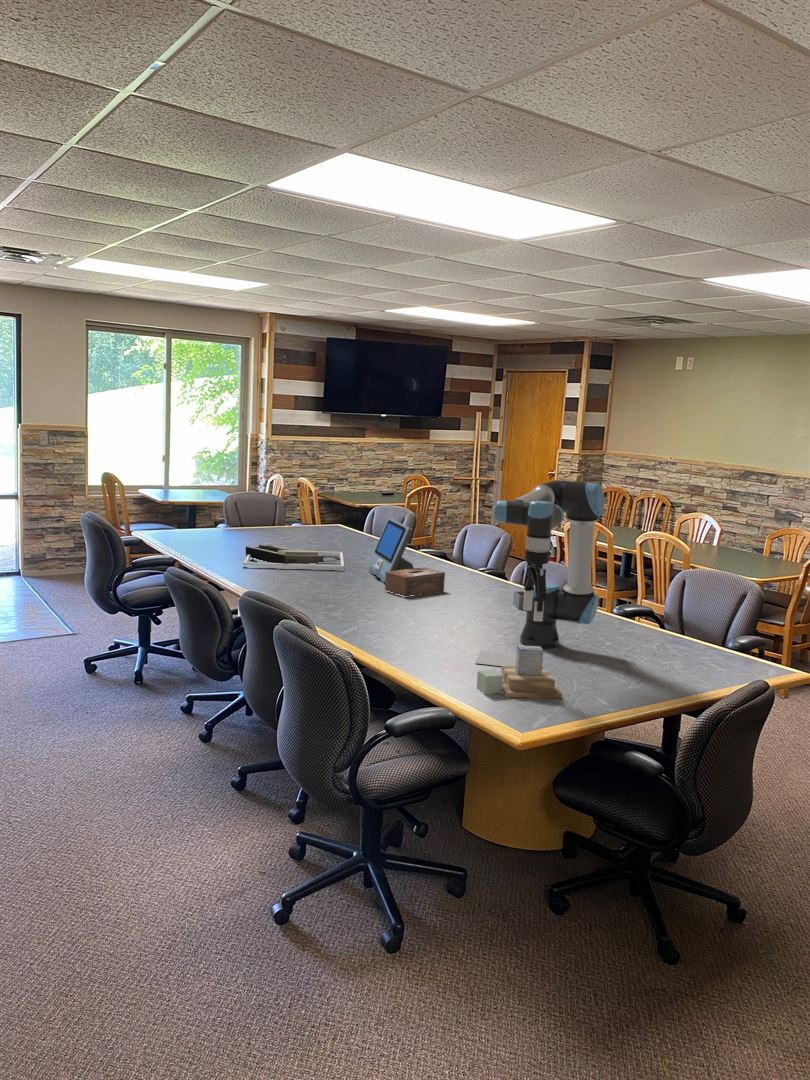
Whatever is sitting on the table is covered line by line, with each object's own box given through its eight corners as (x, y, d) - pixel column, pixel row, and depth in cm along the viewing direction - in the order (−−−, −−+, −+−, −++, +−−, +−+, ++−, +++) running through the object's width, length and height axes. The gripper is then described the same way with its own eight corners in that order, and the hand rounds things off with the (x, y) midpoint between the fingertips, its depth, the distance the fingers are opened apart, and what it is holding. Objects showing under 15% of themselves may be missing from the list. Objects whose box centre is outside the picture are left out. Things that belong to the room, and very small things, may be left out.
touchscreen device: (365, 571, 441) (369, 516, 437) (400, 572, 448) (404, 518, 443) (383, 586, 409) (388, 526, 404) (420, 586, 415) (425, 528, 410)
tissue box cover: (404, 598, 386) (405, 577, 385) (384, 592, 397) (385, 571, 395) (443, 592, 403) (444, 572, 402) (423, 586, 414) (424, 567, 412)
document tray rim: (250, 554, 476) (250, 548, 475) (342, 557, 481) (342, 552, 480) (243, 568, 434) (243, 562, 434) (343, 571, 440) (343, 565, 439)
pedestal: (493, 678, 274) (494, 664, 274) (546, 679, 276) (547, 665, 275) (505, 697, 257) (506, 682, 256) (561, 698, 259) (562, 683, 258)
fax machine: (345, 563, 455) (345, 546, 453) (296, 573, 430) (296, 555, 428) (294, 552, 485) (293, 536, 483) (246, 561, 461) (245, 544, 459)
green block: (476, 688, 264) (477, 670, 263) (493, 687, 266) (494, 669, 265) (484, 694, 258) (486, 676, 257) (501, 693, 261) (503, 675, 260)
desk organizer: (513, 603, 385) (514, 591, 384) (556, 604, 387) (557, 592, 386) (518, 609, 374) (519, 596, 373) (563, 610, 377) (564, 597, 376)
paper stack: (544, 658, 301) (544, 657, 301) (540, 680, 277) (541, 678, 277) (480, 651, 305) (480, 650, 305) (472, 672, 281) (472, 670, 281)
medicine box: (538, 671, 268) (540, 645, 267) (541, 676, 264) (543, 649, 262) (514, 670, 268) (516, 645, 266) (517, 675, 263) (519, 649, 262)
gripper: (516, 543, 271) (512, 605, 275) (535, 557, 247) (530, 625, 250) (539, 543, 272) (534, 606, 275) (560, 557, 248) (554, 626, 251)
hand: (532, 615), depth 263 cm, fingers open, 13 cm apart
